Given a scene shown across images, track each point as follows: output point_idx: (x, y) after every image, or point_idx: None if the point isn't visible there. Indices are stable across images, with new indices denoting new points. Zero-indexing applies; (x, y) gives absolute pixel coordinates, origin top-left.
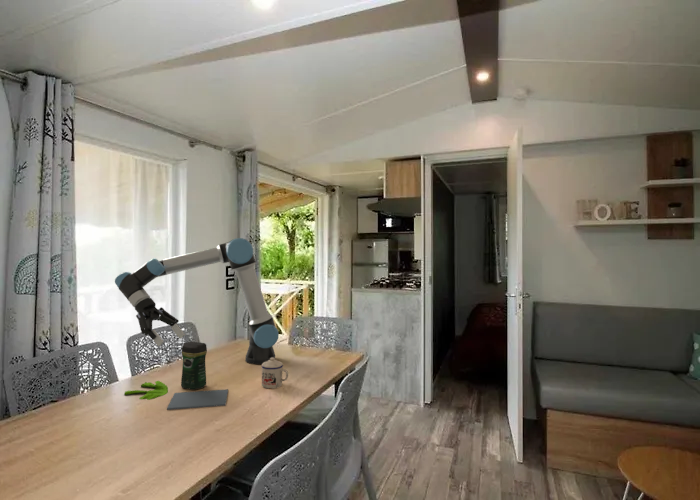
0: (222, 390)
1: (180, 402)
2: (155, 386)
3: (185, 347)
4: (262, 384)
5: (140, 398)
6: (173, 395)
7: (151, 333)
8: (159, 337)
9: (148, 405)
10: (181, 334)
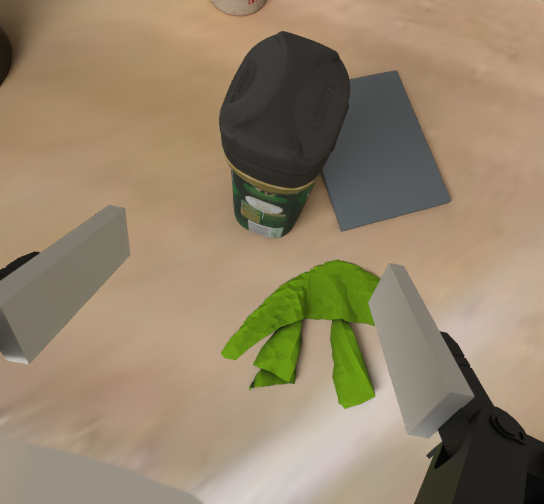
0: None
1: (409, 182)
2: (300, 320)
3: (335, 138)
4: (255, 5)
5: None
6: (364, 224)
7: (478, 383)
8: (415, 298)
9: (430, 267)
10: (116, 233)
